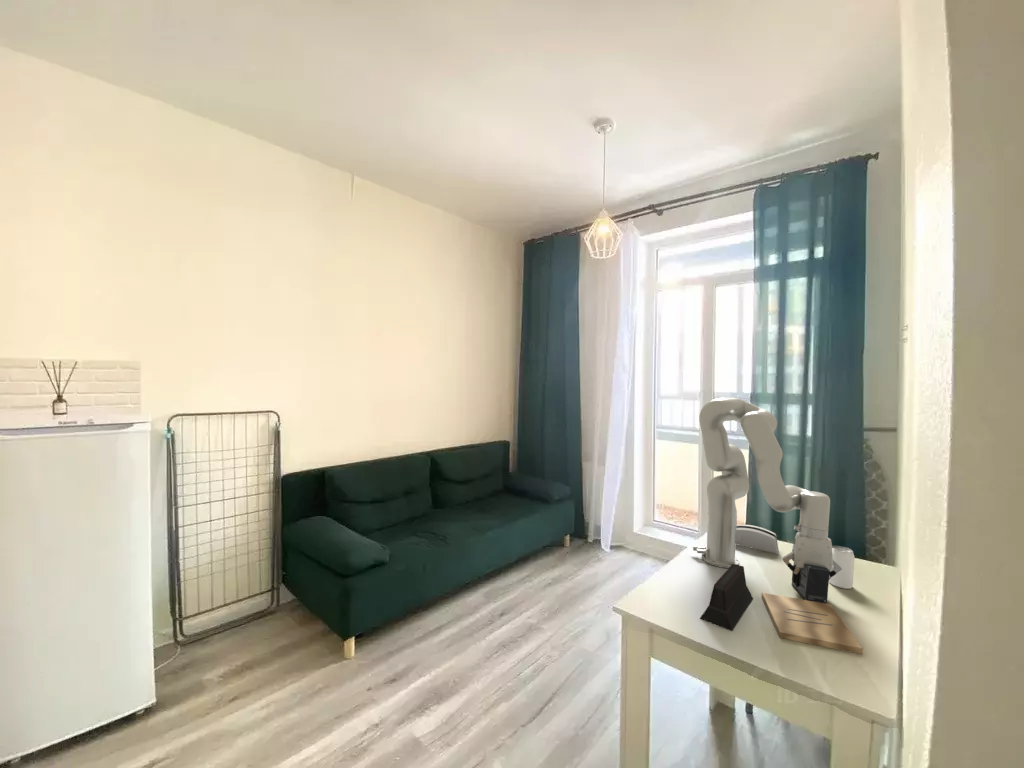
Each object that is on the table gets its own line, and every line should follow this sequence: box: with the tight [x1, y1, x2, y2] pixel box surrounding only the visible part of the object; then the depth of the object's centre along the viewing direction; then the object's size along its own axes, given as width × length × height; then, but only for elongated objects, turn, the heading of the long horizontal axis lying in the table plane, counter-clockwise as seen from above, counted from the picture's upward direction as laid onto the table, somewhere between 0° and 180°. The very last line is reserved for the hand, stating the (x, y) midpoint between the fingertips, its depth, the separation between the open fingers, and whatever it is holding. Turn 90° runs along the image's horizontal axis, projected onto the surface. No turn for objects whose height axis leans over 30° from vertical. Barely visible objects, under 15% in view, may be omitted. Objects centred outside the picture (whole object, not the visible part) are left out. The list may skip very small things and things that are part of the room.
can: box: [829, 545, 855, 590], centre depth 146 cm, size 6×6×12 cm
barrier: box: [699, 564, 754, 632], centre depth 129 cm, size 24×9×10 cm, turn 139°
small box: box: [791, 563, 830, 604], centre depth 138 cm, size 11×6×10 cm, turn 168°
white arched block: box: [736, 524, 779, 555], centre depth 175 cm, size 17×5×10 cm, turn 54°
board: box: [761, 592, 864, 655], centre depth 122 cm, size 18×22×2 cm
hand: (809, 586), depth 139 cm, fingers closed on small box, 6 cm apart
